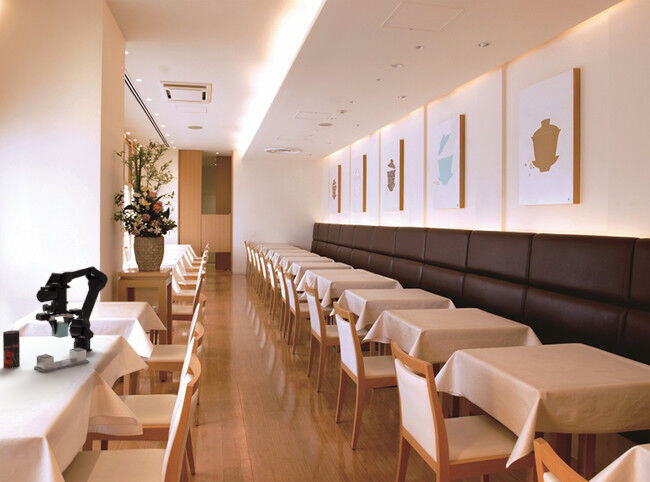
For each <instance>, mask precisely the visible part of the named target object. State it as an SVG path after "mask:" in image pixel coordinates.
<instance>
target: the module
mask: <svg viewBox="0 0 650 482" xmlns="http://www.w3.org/2000/svg"><path fill="white" fill-rule="evenodd" d="M51 336H52V337H55V338H58V339H60V338H67V337H69V327H68V323H66V322H64V321H63V320H62V321H61V320H59V321H58V320H57V331H56V334H54V333H53V330H52V329H51Z"/></svg>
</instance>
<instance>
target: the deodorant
mask: <svg viewBox="0 0 650 482" xmlns="http://www.w3.org/2000/svg"><path fill="white" fill-rule="evenodd" d="M20 341H21V340H20V330H13V329H12V330H6V331H3V332H2V343H3V344H2V345H3V347H2V350H3V351H2V352H3V359H2V361H3V365H2V366H3V369H16V368H18V367H20V366H21V365H20V364H21V363H20V360H21V358H20V354H21V353H20V352H21V350H20V348H21V347H20V345H21V344H20Z"/></svg>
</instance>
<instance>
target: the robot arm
mask: <svg viewBox="0 0 650 482" xmlns="http://www.w3.org/2000/svg"><path fill="white" fill-rule="evenodd" d="M82 277H85V279H86V280H87V286H88V291H87V294H86V295H85V299H84V301H83V304H82V307H81V308H76V307H75V308H70V309H69V310H68V304H69V301H68V289H70V288H71V286H70V285H69V283H71V282H72V281H73V280H75V279H78V278H82ZM108 280H109V279H108V276H107V274H106V273H104V272H103V271H101V270H99V269H97V268H96V267H95V266H94V265H84V266H81V267H78V268H73V269H70V270H64V271H63V270H57V271H52V272H51V273H50V276H49V278H48V279H47V281H46V283H45V285H44V286H40V288H39V290H38V291H37V293H36V294H35V295H36V296H35V297H36V300H37V301H38V302H39V303H44V304H42V308H41V309H42V312H38V313H36V315H35V320H36V321H39V322H47V323H49V326H50V327H51V331H52V330H53V333H54V334H56V331H57V321H58V319H56V318H59V317H62V319H63V322H66V323H68V332H69V334H70V337H71V339H74V341H73V349H74V348H82V349H85V350H86V352H89V351H90V352H91V351H93V349H92V348H91V339H93V338H94V335H95V332H93V331H92V330H91V321H90V318H91V315H92V313H93V310H94V307H95V305H96V303H97V300H98V298H99V294H100V292H101V291H102V290H103V289H104V288H105V287H106V285H107V283H108V282H109V281H108ZM46 302H50V305H49V304H48V303H46Z"/></svg>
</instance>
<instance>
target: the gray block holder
mask: <svg viewBox="0 0 650 482" xmlns="http://www.w3.org/2000/svg"><path fill="white" fill-rule="evenodd" d="M89 363H90V360H88V359H87V351H86V350H85V349H82V348H74V347H73V348H71V349H69V358H67V359H63V360H58V361H55V357H54V356H53V355H50V354H47V353H44V354H40V355H36V365H34V366H33V368H34V370H37V371H39V372H41V373H44V374H45V373H49V372H53V371H57V370H63V369H66V368H71V367H76V366H80V365H85V364H89Z"/></svg>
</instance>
